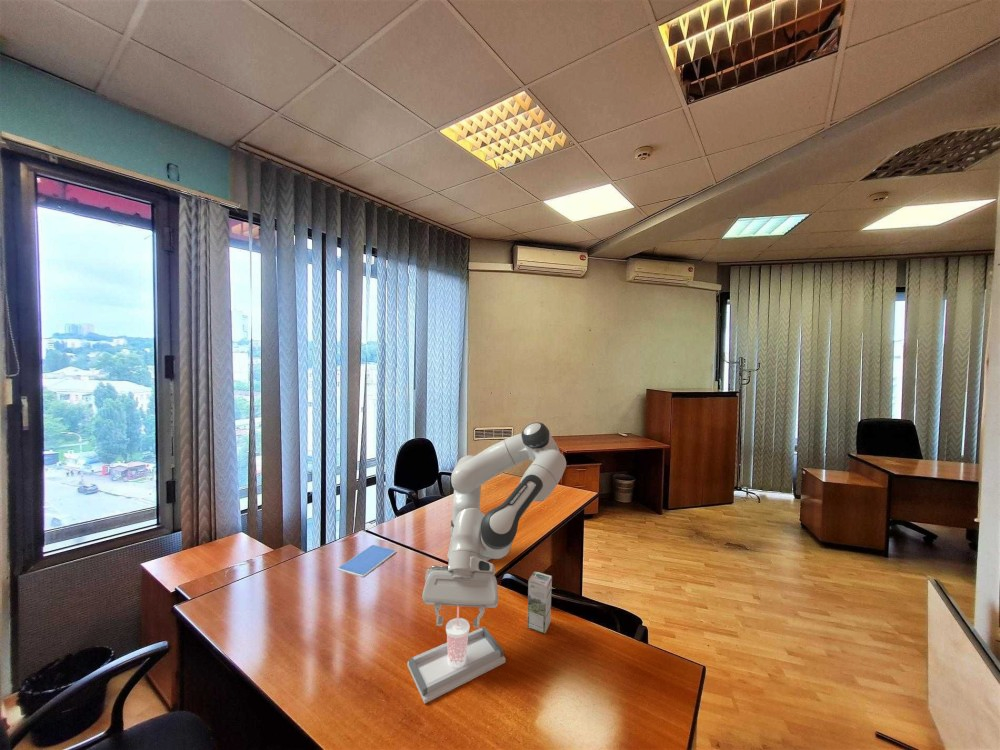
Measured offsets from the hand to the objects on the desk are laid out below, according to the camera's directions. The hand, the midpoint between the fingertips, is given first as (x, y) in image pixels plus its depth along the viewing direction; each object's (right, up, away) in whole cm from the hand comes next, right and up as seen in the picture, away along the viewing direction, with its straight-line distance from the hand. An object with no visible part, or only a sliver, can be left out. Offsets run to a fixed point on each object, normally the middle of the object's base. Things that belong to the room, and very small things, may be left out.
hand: (457, 626), depth 91 cm
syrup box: (+22, -11, +16) cm, 29 cm away
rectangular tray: (0, -10, +1) cm, 10 cm away
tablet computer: (-40, -9, +48) cm, 63 cm away
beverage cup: (0, -10, +1) cm, 10 cm away
